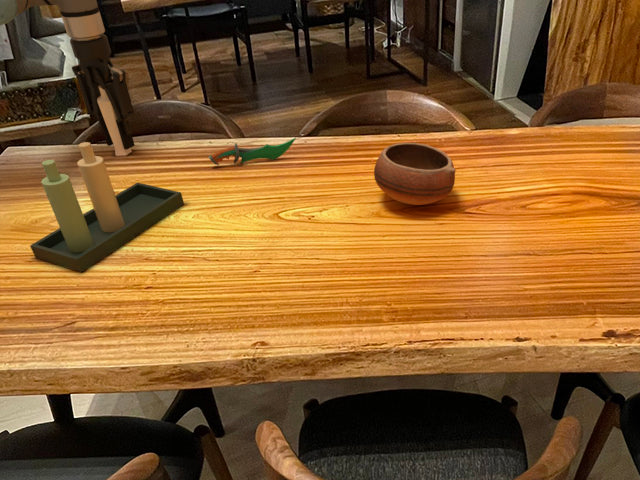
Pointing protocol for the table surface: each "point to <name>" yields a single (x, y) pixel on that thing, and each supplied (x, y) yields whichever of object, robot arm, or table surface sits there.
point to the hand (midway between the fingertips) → (121, 145)
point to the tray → (138, 214)
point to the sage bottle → (66, 208)
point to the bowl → (414, 173)
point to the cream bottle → (100, 189)
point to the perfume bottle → (111, 122)
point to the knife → (251, 152)
